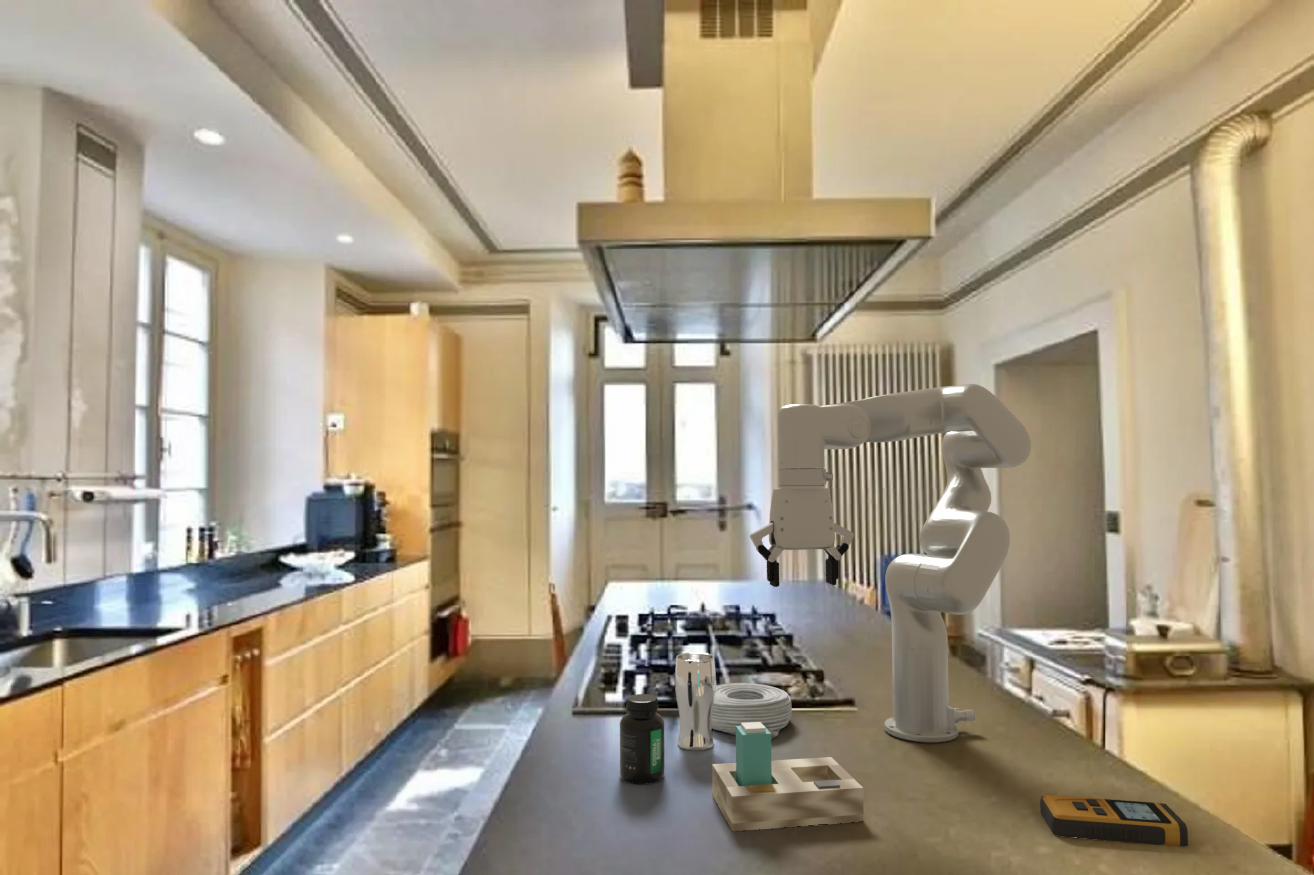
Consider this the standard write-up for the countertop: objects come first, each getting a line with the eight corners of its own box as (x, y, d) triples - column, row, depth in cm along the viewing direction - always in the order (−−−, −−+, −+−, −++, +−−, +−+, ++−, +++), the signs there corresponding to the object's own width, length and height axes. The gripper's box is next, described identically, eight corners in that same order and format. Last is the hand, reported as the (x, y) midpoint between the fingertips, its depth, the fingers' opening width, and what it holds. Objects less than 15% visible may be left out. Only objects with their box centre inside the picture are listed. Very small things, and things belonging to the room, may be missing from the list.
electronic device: (1038, 815, 115) (1037, 790, 115) (1163, 824, 111) (1162, 798, 112) (1054, 842, 106) (1053, 815, 107) (1190, 851, 103) (1189, 824, 103)
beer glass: (713, 753, 138) (712, 662, 139) (672, 750, 140) (671, 660, 140) (718, 739, 145) (717, 652, 146) (679, 737, 147) (678, 651, 147)
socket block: (831, 787, 123) (831, 754, 123) (863, 821, 111) (863, 785, 112) (712, 795, 120) (712, 762, 121) (732, 831, 109) (732, 794, 109)
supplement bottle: (668, 783, 125) (667, 703, 126) (622, 786, 124) (622, 705, 125) (660, 767, 132) (660, 691, 132) (617, 770, 131) (617, 693, 131)
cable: (773, 745, 143) (772, 709, 143) (681, 730, 151) (681, 696, 152) (804, 717, 159) (804, 685, 159) (719, 705, 167) (719, 675, 167)
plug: (764, 796, 118) (763, 720, 118) (771, 807, 114) (771, 729, 114) (736, 797, 117) (735, 721, 117) (743, 809, 113) (742, 730, 114)
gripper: (843, 479, 142) (844, 580, 141) (744, 480, 139) (745, 583, 138) (860, 479, 134) (862, 586, 134) (756, 480, 132) (757, 589, 131)
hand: (802, 584), depth 136 cm, fingers open, 9 cm apart
